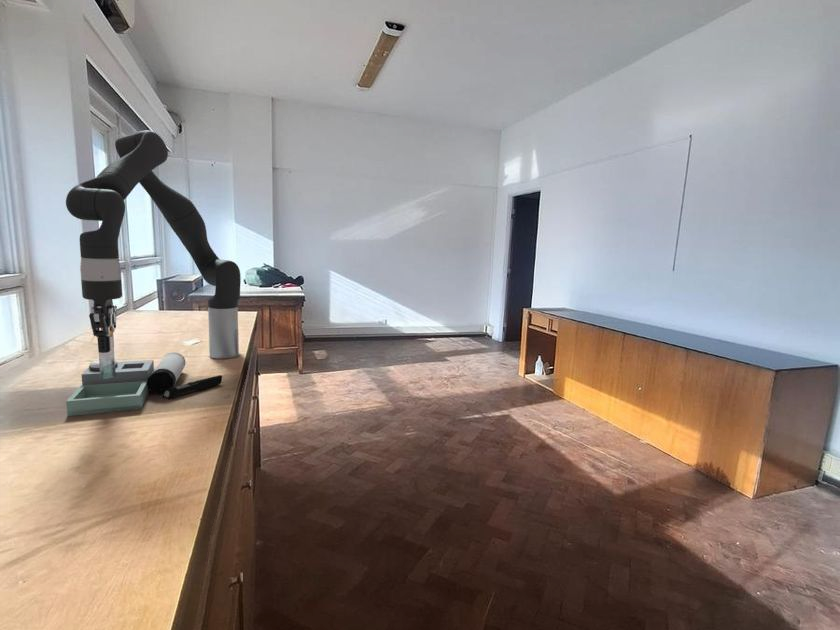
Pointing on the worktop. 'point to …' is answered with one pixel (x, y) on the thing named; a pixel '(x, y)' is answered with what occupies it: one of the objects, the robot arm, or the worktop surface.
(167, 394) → the electric trimmer
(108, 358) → the gold capped cylinder
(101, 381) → the grey slotted holder
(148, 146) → the robot arm
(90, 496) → the worktop surface
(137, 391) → the tray
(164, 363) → the travel mug
